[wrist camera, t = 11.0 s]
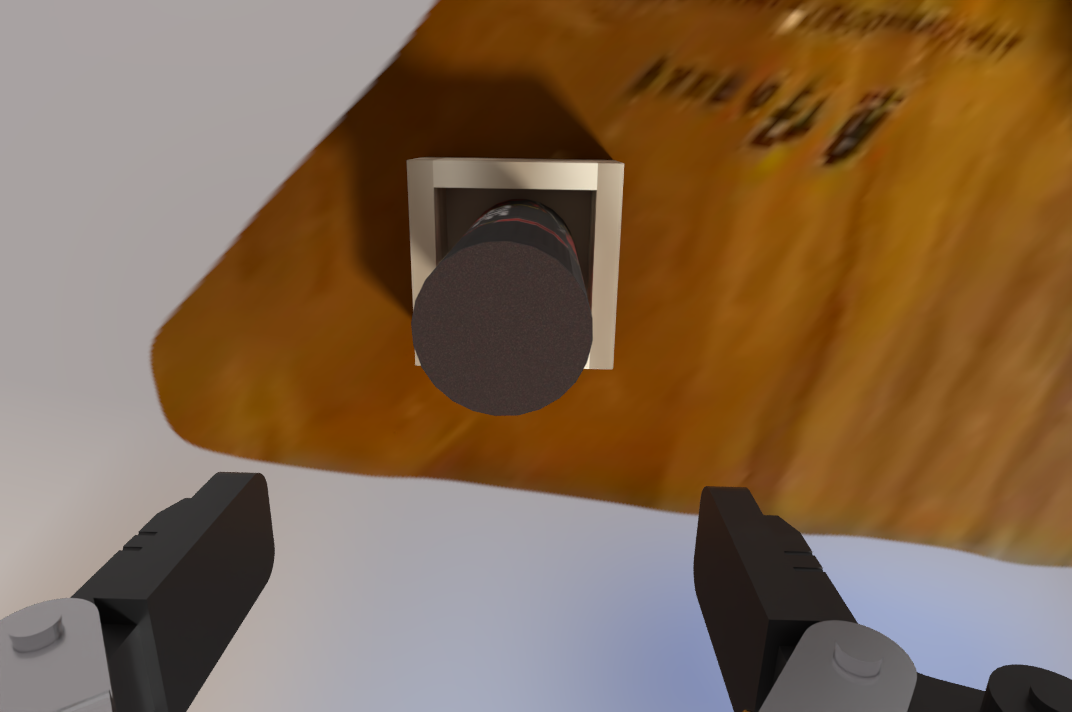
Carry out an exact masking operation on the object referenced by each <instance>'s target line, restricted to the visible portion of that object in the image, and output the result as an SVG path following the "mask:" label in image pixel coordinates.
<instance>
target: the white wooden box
mask: <svg viewBox="0 0 1072 712" xmlns="http://www.w3.org/2000/svg"><path fill="white" fill-rule="evenodd" d="M623 176H624V163H621V162H618V161H615V160H584V159H524V158H464V157H422V158H416V159H410V160H407V180H408V203H409V225H410V248H411V271H412V294H413V310H414V305H415V300H416V298H417V296H418V294H419V292H420V290H421V288H422V285H423V283H424V281H425V279H426V278H427V277H428V276H429V275H430V274H431V273H432V271H433V270H434V269H435V268H436V267H437V266H438V264H439V263H440V262H441V261H442V260H443V259H444V257H445V256H446V255H447V254H448V253H449V252H450V250H451V249H452V248H453V247H454V246H455V245H456V244H457V242H458V241H459V240H460V239H461V238H462V237H463V235H464V234H465V233H466V232H467V231H468V230H469V228H470V227H471V226H472V225H473V224H474V223H475V222H476V220H477V219H478V218H479V217H480V216H481V215H482V214H483V213H484V212H485V211H486V210H488V209H489V208H491V207H492V206H494V205H495V204H497V203H501V202H504V201H507V200H510V199H527V200H532V201H536V202H540V203H542V204H544V205H545V206H547V207H549V208H551V209H553V210H554V211H555V212H556V213H557V214H558V215H559V216H560V217H561V218H562V219H563V220H564V222H565V223H566V225H567V227H568V228H569V230H570V232H571V235H572V238H573V242H574V245H575V249H576V253H577V257H578V261H579V265H580V269H581V273H582V277H583V281H584V285H585V289H586V293H587V297H588V302H589V306H590V310H591V314H592V318H593V342H592V346H591V350H590V354H589V357H588V361H587V364H586V365H585V367H584V369H613V358H614V340H615V322H616V304H617V285H618V267H619V249H620V231H621V213H622V194H623ZM415 363H416V365H418V366H421V364H420V362H419V359H418V356H417V354H416V351H415Z"/></svg>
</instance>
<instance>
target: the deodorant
mask: <svg viewBox="0 0 1072 712" xmlns="http://www.w3.org/2000/svg"><path fill="white" fill-rule="evenodd" d="M411 326H412V335H413V345H414V348H415V351H416V354H417V356H418V359H419V362H420V364H421V367H422V368H423V370H424V371H425V373H426V374H427V375H428V377H429V378H430V380H431V381H432V382H433V384H434V385H435V386H436V387H437V388H438V389H439V390H440V391H442V392H443V393H444V394H445V395H446V396H448V397H449V398H450V399H451V400H452V401H454V402H456V403H458V404H460V405H462V406H464V407H466V408H468V409H470V410H473V411H476V412H481V413H485V414H490V415H494V416H508V415H521V414H525V413H528V412H532V411H535V410H539V409H541V408H543V407H545V406H547V405H548V404H550V403H552V402H554V401H555V400H557V399H559V398H560V397H561V396H562V395H563V394H564V393H565V392H566V391H567V390H568V389H569V388H570V387H571V386H572V385H573V384H574V383H575V382H576V381H577V379H578V377H579V376H580V374H581V372H582V371H583V369H584V367H585V365H586V364H587V361H588V357H589V354H590V350H591V346H592V342H593V318H592V314H591V310H590V306H589V302H588V297H587V293H586V289H585V285H584V281H583V277H582V273H581V269H580V265H579V261H578V257H577V253H576V249H575V245H574V242H573V238H572V235H571V232H570V230H569V228H568V227H567V225H566V223H565V222H564V220H563V219H562V218H561V217H560V216H559V215H558V214H557V213H556V212H555V211H554V210H553V209H551V208H549V207H547V206H545V205H544V204H542V203H540V202H536V201H532V200H527V199H510V200H507V201H504V202H501V203H497V204H495V205H494V206H492V207H491V208H489V209H488V210H486V211H485V212H484V213H483V214H482V215H481V216H480V217H479V218H478V219H477V220H476V222H475V223H474V224H473V225H472V226H471V227H470V228H469V230H468V231H467V232H466V233H465V234H464V235H463V237H462V238H461V239H460V240H459V241H458V242H457V244H456V245H455V246H454V247H453V248H452V249H451V250H450V252H449V253H448V254H447V255H446V256H445V257H444V259H443V260H442V261H441V262H440V263H439V264H438V266H437V267H436V268H435V269H434V270H433V271H432V273H431V274H430V275H429V276H428V277H427V278H426V279H425V281H424V283H423V285H422V288H421V290H420V292H419V294H418V296H417V298H416V300H415V305H414V310H413V316H412V322H411Z"/></svg>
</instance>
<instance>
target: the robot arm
mask: <svg viewBox="0 0 1072 712" xmlns="http://www.w3.org/2000/svg"><path fill="white" fill-rule="evenodd" d="M274 554H275V548H274V538H273V530H272V521H271V513H270V504H269V497H268V488H267V482H266V479H265V477H264V476H263V475H262V474H261V473H238V472H237V473H236V472H218V473H216V474H215V475H214V476H213V477H212V478H211V479H210V480H209V481H208V482H207V483H206V484H205V485H204V486H203V487H202V488H201V489H200V490H199V491H198V492H197V493H196V494H195V495H194V496H193V497H192V498H185V499H183V500H181V501H179V502H177V503H175V504H174V505H172V506H170V507H168V508H166V509H165V510H163V511H161V512H159V513H157V514H156V515H155V516H154V517H153V518H152V519H151V520H150V521H149V522H148V523H147V524H146V525H145V526H144V527H143V528H142V529H141V530H140V531H139V534H138V535H135V536H134V537H133V538H132V539H131V540H129V541H128V542H127V543H126V544H125V545H124V546H123V550H122V551H121V550H119V551H118V552H117V553H116V554H115V555H114V556H113V557H112V558H111V559H110V560H109V561H108V562H107V563H106V564H105V565H104V566H103V567H102V568H101V569H99V570H98V571H97V572H96V574H94V575H93V576H92V577H91V578H90V579H89V580H88V581H87V582H86V583H85V584H84V585H83V586H82V587H81V588H80V589H79V590H78V591H77V592H76V593H75V594H74V595H73V596H72V597H71V598H62V599H54V600H49V601H45V602H41V603H38V604H34V605H31V606H29V607H26V608H24V609H21V610H19V611H16V612H14V613H12V614H11V615H9V616H7V617H5V618H3V619H2V620H0V712H186V711H187V710H188V708H189V706H190V705H191V703H192V702H193V700H194V698H195V697H196V695H197V694H198V692H199V690H200V689H201V687H202V686H203V684H204V683H205V681H206V679H207V678H208V676H209V675H210V673H211V671H212V670H213V668H214V667H215V665H216V663H217V662H218V660H219V659H220V657H221V655H222V654H223V652H224V651H225V649H226V647H227V646H228V644H229V643H230V641H231V639H232V638H233V636H234V635H235V633H236V632H237V630H238V628H239V626H240V625H241V624H242V622H243V620H244V619H245V617H246V616H247V614H248V612H249V611H250V609H251V608H252V606H253V604H254V603H255V601H256V600H257V598H258V596H259V595H260V593H261V592H262V590H263V589H264V587H265V585H266V584H267V582H268V580H269V578H270V575H271V572H272V568H273V563H274ZM694 584H695V591H696V595H697V598H698V602H699V605H700V608H701V611H702V614H703V617H704V620H705V623H706V627H707V630H708V633H709V636H710V639H711V642H712V645H713V648H714V651H715V654H716V657H717V660H718V664H719V667H720V670H721V673H722V676H723V679H724V682H725V685H726V688H727V691H728V694H729V698H730V701H731V704H732V706H733V710H734V712H1072V680H1071V679H1069V678H1067V677H1065V676H1062V675H1060V674H1057V673H1055V672H1052V671H1049V670H1045V669H1042V668H1038V667H1034V666H1028V665H1006V666H1002V667H1000V668H997V669H996V670H995V671H993V672H992V674H991V675H990V677H989V681H988V684H987V688H986V691H982V690H978V689H974V688H970V687H966V686H962V685H959V684H955V683H950V682H947V681H943V680H939V679H935V678H932V677H929V676H925V675H923V674H920V673H918V672H916V668H915V666H914V663H913V662H912V660H911V659H910V657H909V656H908V654H906V652H905V651H904V650H903V649H902V648H901V647H900V646H899V645H898V644H896V643H895V642H894V641H892V640H891V639H890V638H888V637H886V636H885V635H883V634H881V633H880V632H878V631H875V630H873V629H871V628H869V627H866V626H863V625H860V624H858V623H857V621H856V620H855V618H854V617H853V615H852V613H851V612H850V610H849V609H848V607H847V606H846V604H845V602H844V601H843V599H842V598H841V596H840V595H839V593H838V591H837V590H836V588H835V587H834V585H833V584H832V582H831V580H830V579H829V577H828V576H827V574H826V573H825V572H823V570H822V566H821V565H820V564H819V562H818V560H817V559H816V557H815V556H813V555H812V551H811V549H810V547H809V546H808V544H807V543H806V541H805V540H804V538H803V536H802V535H801V533H800V532H799V531H797V530H796V529H795V528H793V527H792V526H791V525H789V524H788V523H787V522H785V521H784V520H783V519H782V518H780V517H779V516H771V515H763V514H762V512H761V510H760V508H759V507H758V505H757V503H756V501H755V500H754V498H753V496H752V494H751V493H750V491H749V490H748V488H746V487H714V486H706V487H704V489H703V491H702V494H701V500H700V509H699V518H698V528H697V536H696V545H695V555H694Z"/></svg>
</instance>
